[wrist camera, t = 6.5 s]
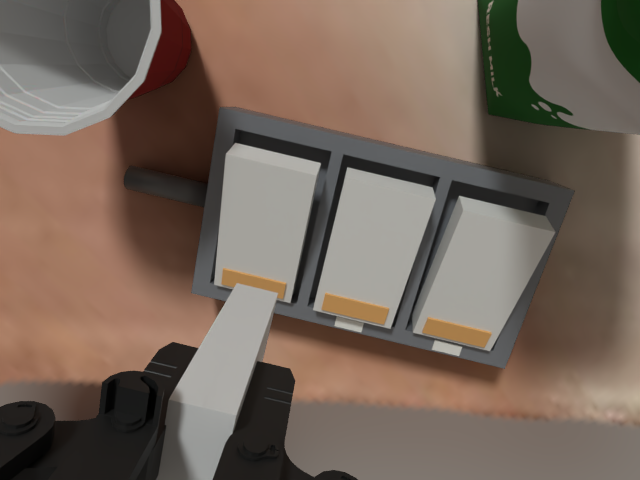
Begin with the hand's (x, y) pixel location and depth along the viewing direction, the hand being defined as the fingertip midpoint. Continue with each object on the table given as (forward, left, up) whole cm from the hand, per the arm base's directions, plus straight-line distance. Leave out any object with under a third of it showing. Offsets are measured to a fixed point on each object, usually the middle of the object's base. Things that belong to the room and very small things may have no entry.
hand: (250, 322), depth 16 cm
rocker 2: (+5, 0, -13) cm, 13 cm away
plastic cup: (-12, +9, -16) cm, 22 cm away
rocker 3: (+11, 0, -13) cm, 17 cm away
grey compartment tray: (+2, 0, -16) cm, 16 cm away
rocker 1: (-2, 0, -13) cm, 13 cm away
